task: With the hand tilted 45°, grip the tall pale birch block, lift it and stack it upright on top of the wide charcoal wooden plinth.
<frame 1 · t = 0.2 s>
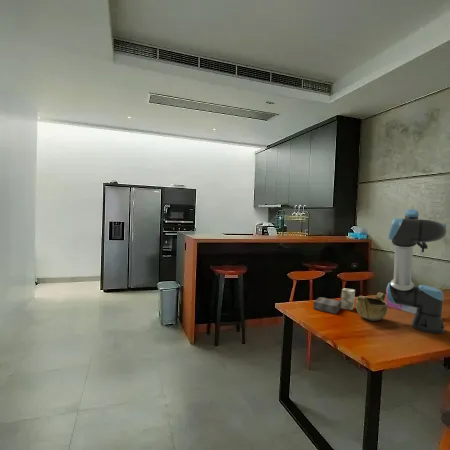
hand: (409, 253, 211), 36 cm above the table, tool tilted 35°, fingers open, 13 cm apart
charcoal plinth: (327, 309, 193), on the table
khaki rounded piece: (370, 319, 177), on the table
birch block: (347, 307, 196), on the table
gum box: (405, 310, 198), on the table
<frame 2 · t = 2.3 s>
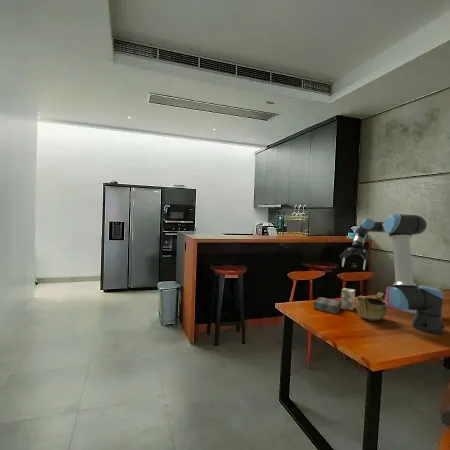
hand: (352, 267, 204), 25 cm above the table, tool tilted 45°, fingers open, 13 cm apart
nothing on the table moved.
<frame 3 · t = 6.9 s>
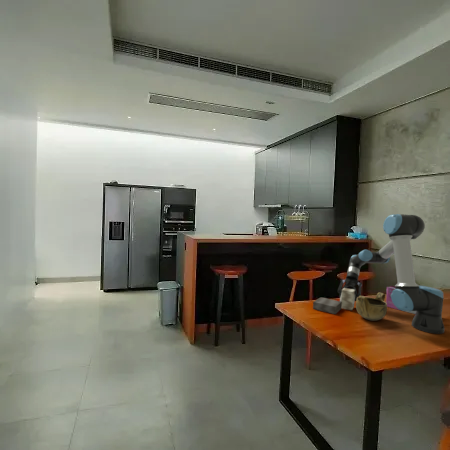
hand: (346, 303, 193), 4 cm above the table, tool tilted 45°, fingers closed on birch block, 7 cm apart
charcoal plinth: (327, 309, 192), on the table, touching gripper
birch block: (347, 307, 196), on the table, touching gripper
everything else where it was.
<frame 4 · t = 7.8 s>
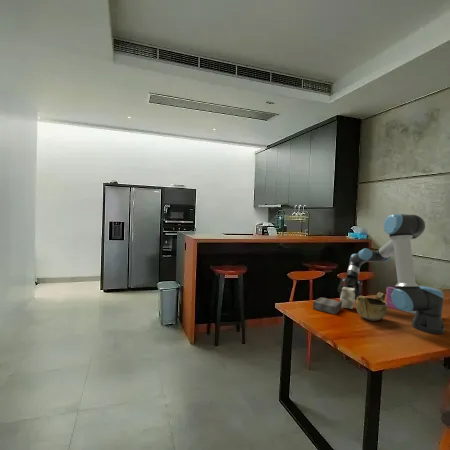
hand: (346, 302, 193), 5 cm above the table, tool tilted 45°, fingers closed on birch block, 7 cm apart
charcoal plinth: (327, 309, 192), on the table
birch block: (347, 306, 196), point 1 cm above the table, touching gripper
everything else where it was.
when the fingers open (10 cm above the table, at t = 13.3 s): birch block drops 2 cm, resting on charcoal plinth.
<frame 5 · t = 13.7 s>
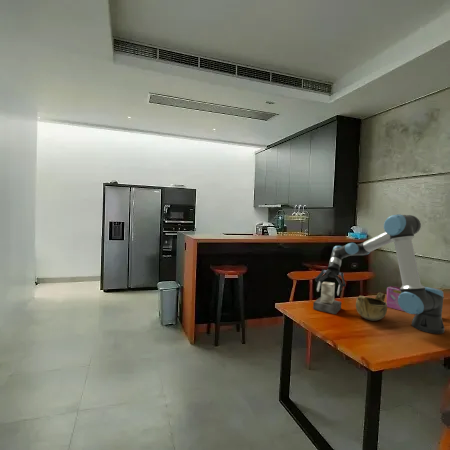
hand: (327, 292, 190), 11 cm above the table, tool tilted 45°, fingers open, 12 cm apart
charcoal plinth: (327, 309, 192), on the table, touching birch block
birch block: (327, 301, 192), point 5 cm above the table, touching charcoal plinth
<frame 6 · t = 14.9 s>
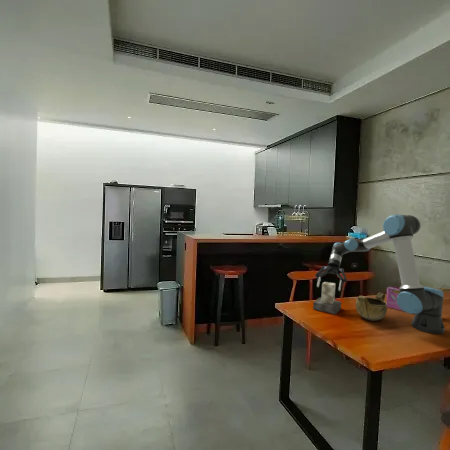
hand: (328, 287, 192), 13 cm above the table, tool tilted 45°, fingers open, 13 cm apart
charcoal plinth: (327, 309, 192), on the table
birch block: (327, 301, 192), point 5 cm above the table
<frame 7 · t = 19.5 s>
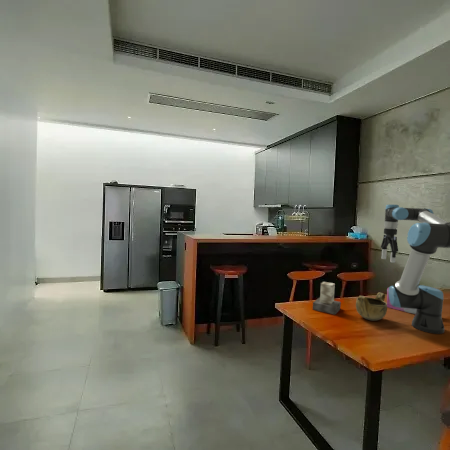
hand: (388, 260, 194), 33 cm above the table, tool pointing down, fingers open, 13 cm apart
charcoal plinth: (326, 309, 191), on the table, touching birch block
birch block: (326, 301, 192), point 5 cm above the table, touching charcoal plinth
at the end: birch block inside the target area on the charcoal plinth (0.6 cm from its centre), point 5.0 cm above the charcoal plinth's base; birch block tilted 1°; the gripper is holding nothing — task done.
